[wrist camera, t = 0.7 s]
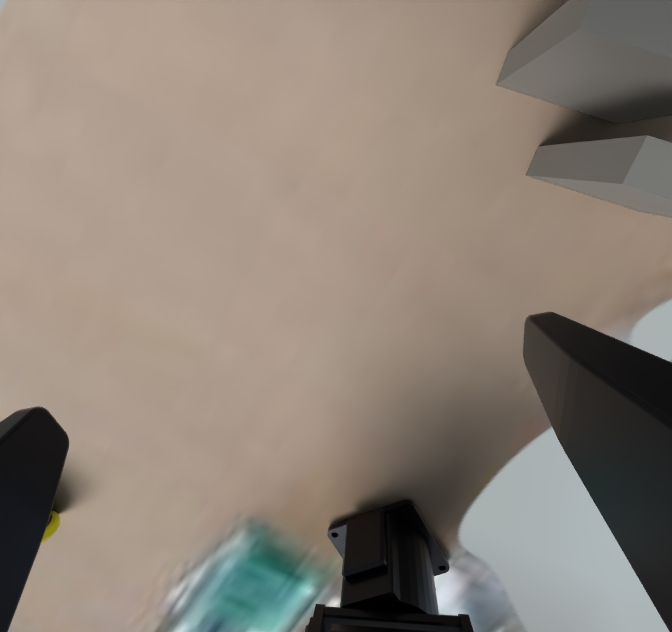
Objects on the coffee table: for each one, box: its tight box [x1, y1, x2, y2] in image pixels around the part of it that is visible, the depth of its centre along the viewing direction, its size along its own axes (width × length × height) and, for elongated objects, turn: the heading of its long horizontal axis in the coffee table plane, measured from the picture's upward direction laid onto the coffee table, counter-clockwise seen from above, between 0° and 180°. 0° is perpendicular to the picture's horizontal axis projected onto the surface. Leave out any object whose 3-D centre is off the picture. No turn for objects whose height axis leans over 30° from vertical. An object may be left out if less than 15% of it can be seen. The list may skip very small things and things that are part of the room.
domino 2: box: [526, 135, 672, 218], centre depth 17 cm, size 1×6×9 cm, turn 73°
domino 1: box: [496, 0, 672, 124], centre depth 16 cm, size 1×6×9 cm, turn 73°
